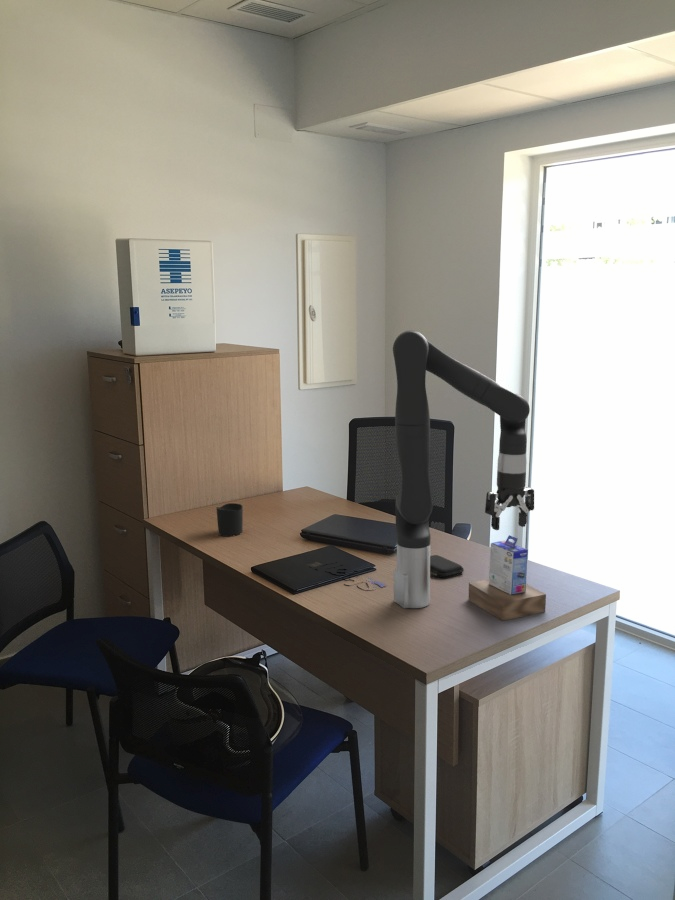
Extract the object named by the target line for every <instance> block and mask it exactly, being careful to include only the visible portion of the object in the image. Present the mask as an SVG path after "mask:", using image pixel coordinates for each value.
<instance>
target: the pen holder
mask: <svg viewBox="0 0 675 900" xmlns="http://www.w3.org/2000/svg"><path fill="white" fill-rule="evenodd" d="M243 509H244V508H243V505H242V504H240V503H235V502H234V503H231V502H230V503H225V504H223V505H221V506H220V507H218V506H217V507H216V517H217V518H216V519H217V531H218V534H219V535H220V534H221V535H220V536H222V535H224V536H223V537H234V536H233V535H236V536H239V535H241V534H242V533H243V511H244V510H243ZM240 533H241V534H240ZM238 534H239V535H238Z"/></svg>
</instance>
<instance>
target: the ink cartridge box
mask: <svg viewBox="0 0 675 900" xmlns="http://www.w3.org/2000/svg"><path fill="white" fill-rule="evenodd" d="M518 539H519V538H517V537H514V536H512V535H508V536H507V538H506V540H499V541H495V542H491V543H490V549H489V567H488V568H489V570H488V579H489V584H490V585H492V586H494V587H496V588H498V589H500V590H502V591H504V592H506V593H508V594H510V595H512V594H518V593H524V592H526V584H527V571H528V553H529V549H527V548H525V547H522V546H519V545H516V544H517V543H518ZM510 540H513V542H512V541H510Z"/></svg>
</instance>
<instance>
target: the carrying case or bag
mask: <svg viewBox="0 0 675 900" xmlns="http://www.w3.org/2000/svg"><path fill="white" fill-rule="evenodd" d="M464 571H465V569H464V567H463V566H462V565H461V564H459V563H457V562H454V561H452V560H451V559H448V558H445V557H444V556H441V555H437V554H433V555H432V554H431V555H430V576H431V575H432V576H435V577H438V578H440V579H447V578H451V577H455V576H458V575H462V574H463V573H464Z"/></svg>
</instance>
